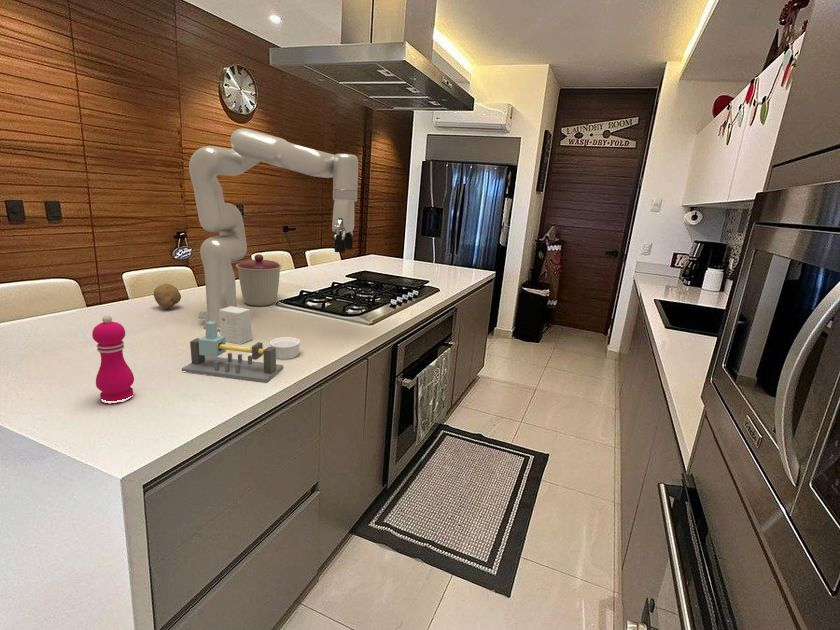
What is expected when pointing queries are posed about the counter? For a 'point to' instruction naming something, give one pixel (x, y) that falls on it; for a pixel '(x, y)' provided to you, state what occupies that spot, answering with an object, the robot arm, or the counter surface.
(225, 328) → the small box
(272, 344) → the ramekin
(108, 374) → the pepper mill
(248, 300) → the canister
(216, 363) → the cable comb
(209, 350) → the sleeve
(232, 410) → the counter surface
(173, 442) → the counter surface
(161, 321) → the counter surface
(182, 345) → the counter surface
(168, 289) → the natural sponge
